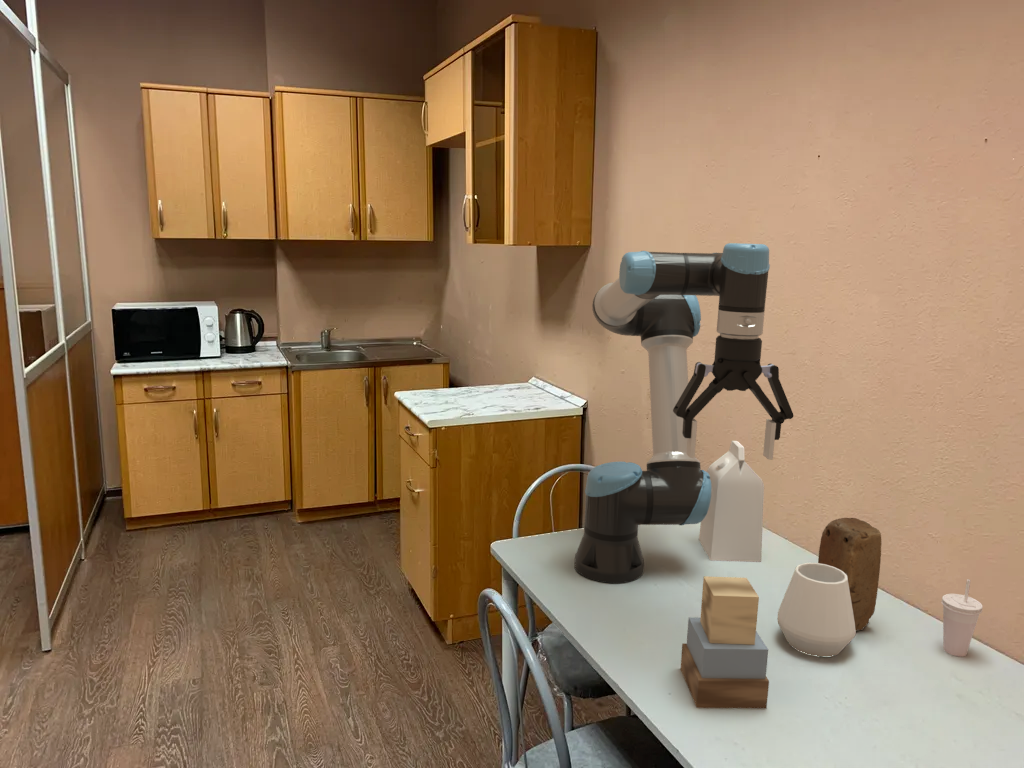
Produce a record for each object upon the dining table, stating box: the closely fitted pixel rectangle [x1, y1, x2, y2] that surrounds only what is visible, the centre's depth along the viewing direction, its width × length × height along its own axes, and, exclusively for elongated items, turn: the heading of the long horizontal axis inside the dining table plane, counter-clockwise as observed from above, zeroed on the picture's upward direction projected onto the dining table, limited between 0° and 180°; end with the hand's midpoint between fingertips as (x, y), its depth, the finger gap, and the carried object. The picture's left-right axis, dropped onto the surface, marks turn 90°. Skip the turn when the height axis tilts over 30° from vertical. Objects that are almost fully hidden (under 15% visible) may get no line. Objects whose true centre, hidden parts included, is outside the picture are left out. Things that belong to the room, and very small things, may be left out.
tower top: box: [686, 616, 769, 679], centre depth 125 cm, size 10×10×5 cm
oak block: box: [699, 575, 760, 645], centre depth 124 cm, size 7×7×8 cm
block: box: [817, 517, 882, 632], centre depth 148 cm, size 11×8×20 cm
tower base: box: [680, 642, 770, 709], centre depth 126 cm, size 11×11×5 cm
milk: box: [698, 440, 765, 563], centre depth 180 cm, size 12×12×26 cm
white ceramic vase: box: [776, 562, 857, 657], centre depth 140 cm, size 13×13×14 cm
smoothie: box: [940, 578, 984, 658], centre depth 139 cm, size 6×6×14 cm
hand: (729, 456), depth 135 cm, fingers open, 13 cm apart
